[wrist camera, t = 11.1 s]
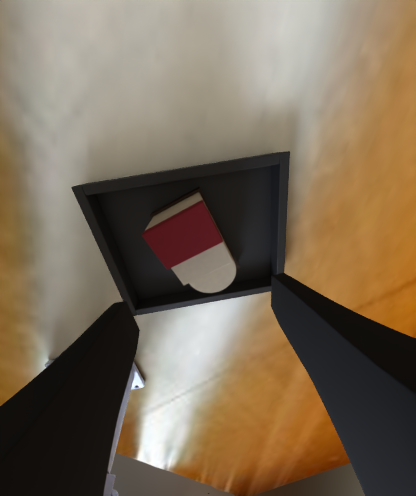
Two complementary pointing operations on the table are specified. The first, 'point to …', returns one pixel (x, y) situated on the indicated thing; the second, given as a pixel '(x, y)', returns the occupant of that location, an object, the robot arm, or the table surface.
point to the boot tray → (224, 209)
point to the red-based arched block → (192, 243)
